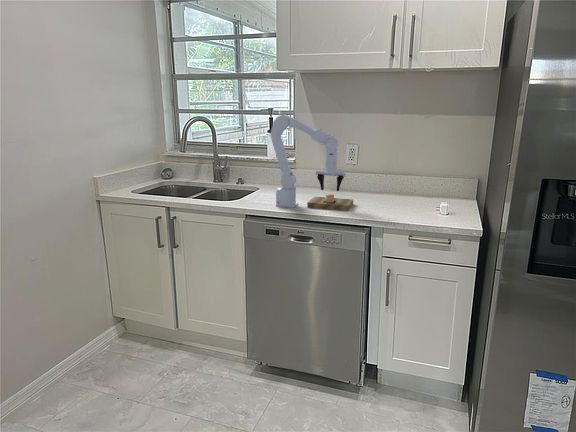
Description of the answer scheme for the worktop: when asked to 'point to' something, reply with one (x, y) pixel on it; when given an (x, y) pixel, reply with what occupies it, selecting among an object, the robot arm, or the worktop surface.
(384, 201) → the worktop surface
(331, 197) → the dowel
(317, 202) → the socket board
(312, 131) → the robot arm
